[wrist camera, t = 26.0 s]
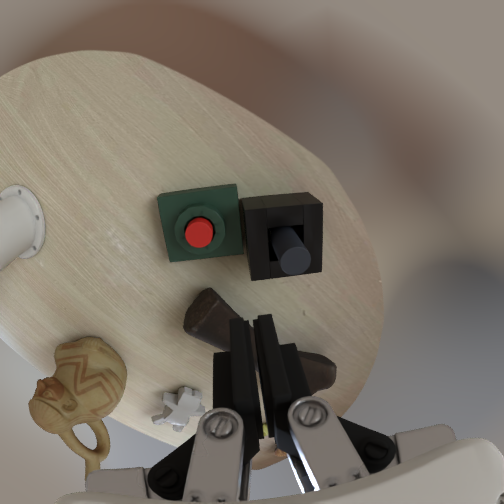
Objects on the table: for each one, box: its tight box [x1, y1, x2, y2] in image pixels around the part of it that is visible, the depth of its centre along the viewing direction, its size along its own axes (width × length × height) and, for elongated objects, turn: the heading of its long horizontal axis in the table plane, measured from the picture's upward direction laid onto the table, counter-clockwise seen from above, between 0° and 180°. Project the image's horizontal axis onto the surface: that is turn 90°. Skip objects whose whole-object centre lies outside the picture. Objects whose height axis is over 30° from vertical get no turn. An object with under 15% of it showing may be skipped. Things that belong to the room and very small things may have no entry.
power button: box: [185, 218, 213, 248], centre depth 32 cm, size 3×3×2 cm
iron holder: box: [242, 192, 323, 281], centre depth 35 cm, size 9×9×6 cm
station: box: [157, 184, 244, 262], centre depth 35 cm, size 10×9×4 cm
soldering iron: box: [269, 226, 311, 275], centre depth 33 cm, size 3×3×11 cm
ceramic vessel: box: [28, 337, 127, 481], centre depth 34 cm, size 17×20×25 cm
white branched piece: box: [151, 387, 205, 432], centre depth 50 cm, size 10×5×15 cm
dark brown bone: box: [183, 288, 337, 395], centre depth 43 cm, size 11×10×28 cm
